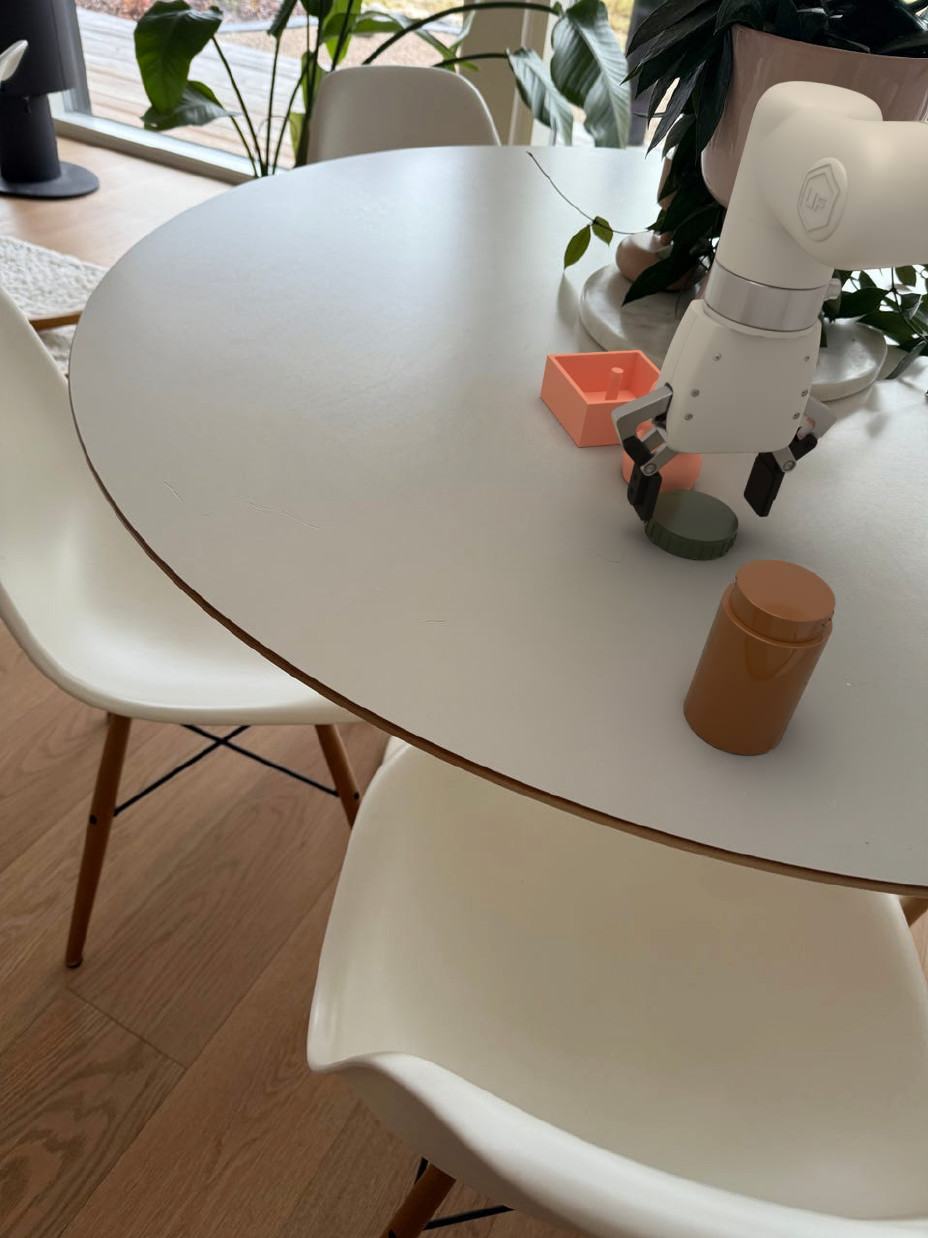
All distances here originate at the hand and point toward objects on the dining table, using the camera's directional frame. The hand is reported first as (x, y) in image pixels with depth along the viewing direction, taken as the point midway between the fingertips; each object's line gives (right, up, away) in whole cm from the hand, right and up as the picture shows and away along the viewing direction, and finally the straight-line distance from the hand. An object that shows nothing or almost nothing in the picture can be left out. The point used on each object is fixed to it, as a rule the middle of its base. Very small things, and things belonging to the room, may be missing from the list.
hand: (697, 508), depth 77 cm
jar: (-1, -15, -14) cm, 20 cm away
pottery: (-4, +7, +12) cm, 14 cm away
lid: (0, -1, +1) cm, 1 cm away
